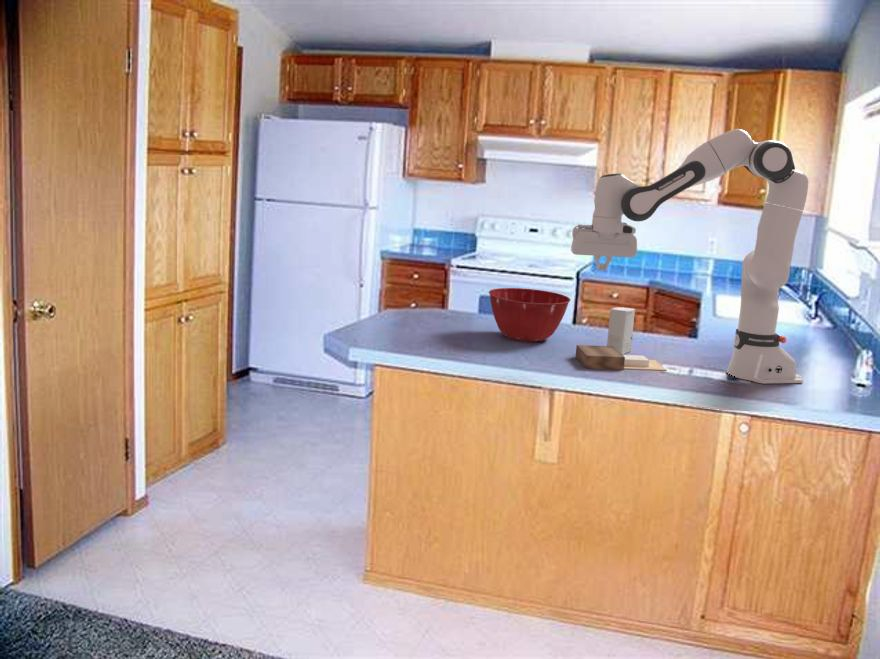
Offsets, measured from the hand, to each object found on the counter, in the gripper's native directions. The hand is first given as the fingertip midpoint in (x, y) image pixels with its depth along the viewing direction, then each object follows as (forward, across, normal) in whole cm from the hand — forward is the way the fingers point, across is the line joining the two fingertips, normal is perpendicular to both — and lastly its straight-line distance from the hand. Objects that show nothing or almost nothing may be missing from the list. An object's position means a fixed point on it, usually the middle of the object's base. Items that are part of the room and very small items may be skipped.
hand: (601, 270), depth 274 cm
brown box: (+29, +1, -4) cm, 29 cm away
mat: (+29, +14, -4) cm, 32 cm away
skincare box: (+29, +12, +13) cm, 34 cm away
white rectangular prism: (+29, +12, -4) cm, 31 cm away
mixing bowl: (+29, -17, +28) cm, 44 cm away
